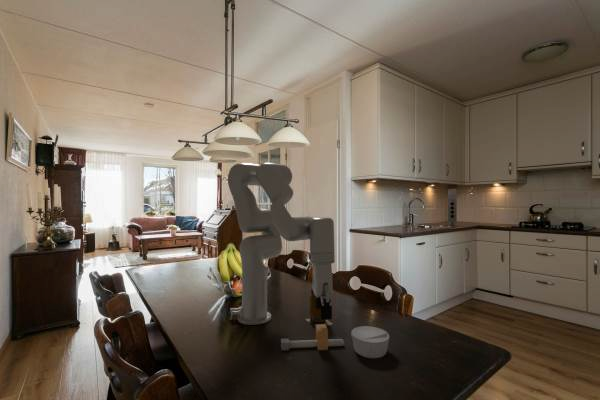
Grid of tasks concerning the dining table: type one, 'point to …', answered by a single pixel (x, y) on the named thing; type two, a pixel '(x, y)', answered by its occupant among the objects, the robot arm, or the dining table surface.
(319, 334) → the tan wooden block
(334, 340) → the long grey bar
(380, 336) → the ramekin
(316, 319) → the condiment
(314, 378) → the dining table surface
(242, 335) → the dining table surface
